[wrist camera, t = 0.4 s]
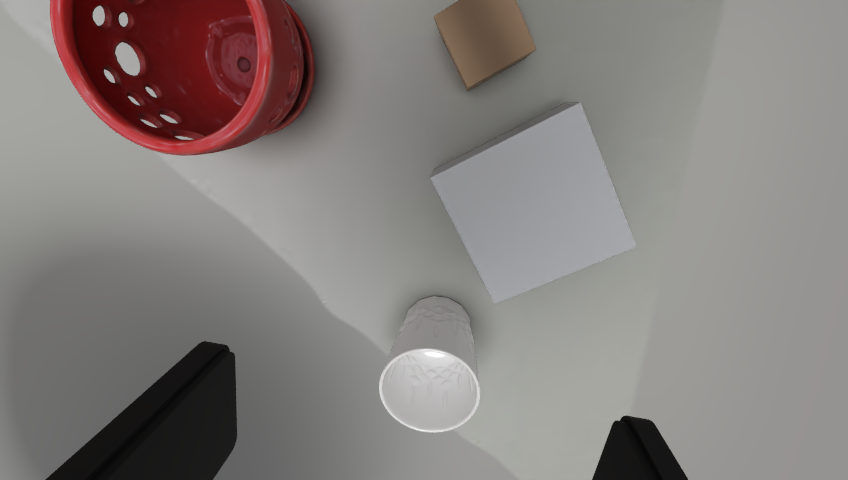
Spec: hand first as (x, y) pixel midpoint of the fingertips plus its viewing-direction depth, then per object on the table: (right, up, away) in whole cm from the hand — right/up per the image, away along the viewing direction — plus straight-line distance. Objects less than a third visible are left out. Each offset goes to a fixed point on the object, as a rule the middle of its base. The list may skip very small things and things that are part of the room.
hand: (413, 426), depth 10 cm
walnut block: (+5, +20, +22) cm, 30 cm away
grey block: (+9, +8, +26) cm, 29 cm away
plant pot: (-14, +20, +24) cm, 34 cm away
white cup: (+2, -4, +31) cm, 31 cm away
